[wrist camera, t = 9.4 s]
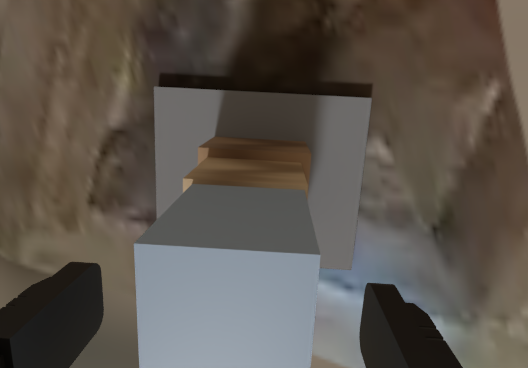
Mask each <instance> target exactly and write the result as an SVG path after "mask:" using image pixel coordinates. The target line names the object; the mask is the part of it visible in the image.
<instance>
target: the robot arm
mask: <svg viewBox="0 0 528 368" xmlns="http://www.w3.org/2000/svg"><path fill="white" fill-rule="evenodd" d="M103 308H104V307H103V292H102V277H101V268H100V266H99V265H98V264H97V263H84V262H70V263H68V264H67V265H66V266H65V267H63V268H62V269H61V270H59V271H58V272H57V273H56V274H54V275H53V276H52V277H49V278H47V279H44V280H42V281H40V282H38V283H36V284H33V285H31V286H30V287H29V288H27V289H26V290H25V291H23V292H22V293H21V294H20V295H18V298H14V299H13V300H12V301H10V302H9V303H8V304H6V307H2V308H1V309H0V368H69V367H70V366H71V365H72V363H73V362H74V361H75V360H76V358H77V357H78V356H79V354H80V353H81V352H82V351H83V349H84V348H85V347H86V345H87V344H88V343H89V341H90V340H91V339H92V338H93V336H94V335H95V334H96V333H97V331H98V329H99V327H100V325H101V322H102V318H103V310H104V309H103ZM360 348H361V353H362V356H363V360H364V363H365V366H366V368H463V367H462V366H461V364H460V363H459V361H458V360H457V358H456V357H455V355H454V354H453V352H452V351H451V349H450V347H449V346H448V344H447V343H446V341H443V337H442V335H441V334H440V332H439V331H438V330H436V326H435V325H434V323H433V322H432V320H431V319H430V317H429V315H428V314H427V313H425V312H424V311H423V310H421V309H420V308H419V307H418V306H416V305H415V304H414V303H405V302H404V300H403V298H402V297H401V295H400V293H399V291H398V290H397V288H396V286H395V285H393V284H379V283H367V285H366V288H365V294H364V302H363V309H362V317H361V325H360Z"/></svg>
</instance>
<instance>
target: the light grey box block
mask: <svg viewBox="0 0 528 368" xmlns="http://www.w3.org/2000/svg"><path fill="white" fill-rule="evenodd" d="M134 255H135V278H136V301H137V322H138V346H139V368H310V366H311V355H312V344H313V333H314V322H315V311H316V300H317V289H318V278H319V267H320V256H321V255H320V251H319V246H318V242H317V238H316V234H315V230H314V226H313V222H312V218H311V214H310V210H309V206H308V202H307V198H306V194H305V190H296V189H278V188H260V187H242V186H224V185H206V184H192V185H191V186H190V187H189V188H188V189H187V190H186V191H185V192H184V193H183V194H182V195H181V196H180V197H179V198H178V199H177V200H176V201H175V202H174V203H173V204H172V205H171V206H170V207H169V208H168V209H167V210H166V211H165V212H164V213H163V214H162V215H161V216H160V217H159V218H158V219H157V220H156V221H155V222H154V223H153V225H152V226H151V227H150V228H149V229H148V230H147V231H146V232H145V233H144V234H143V235H142V236H141V237H140V238H139V239H138V240H137V241H136V242H135V243H134Z"/></svg>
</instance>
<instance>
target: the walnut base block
mask: <svg viewBox="0 0 528 368" xmlns="http://www.w3.org/2000/svg"><path fill="white" fill-rule="evenodd" d="M207 157H213V158H230V159H248V160H265V161H282V162H299V163H301V164H302V167H303V171H304V174H305V178H306V181H307V184H308V188H309V176H310V164H311V152H310V150H309V148H308V146H307V144H306V142H304V141H286V140H269V139H251V138H233V137H215V136H214V137H213V138H211V139H210V140H208V141H207V142H205V143H204V144H202V145H201V146H199V147H198V165H199V164H200V163H201V162H202V161H203V160H205V159H206V158H207ZM307 200H308V191H307Z"/></svg>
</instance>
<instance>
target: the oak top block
mask: <svg viewBox="0 0 528 368" xmlns="http://www.w3.org/2000/svg"><path fill="white" fill-rule="evenodd" d="M192 184H206V185H224V186H242V187H260V188H278V189H296V190H305V194H306V198H307V191H308V184H307V181H306V178H305V174H304V171H303V167H302V164H301V163H299V162H282V161H265V160H248V159H230V158H213V157H207V158H206V159H205V160H203V161H202V162H201V163H200V164H199V165H198V166H197V167H195V168H194V169H193V170H192V171H191V172H190V173H189V174H187V175H186V176H185V177H184V178H183V193H184V192H185V191H186V190H187V189H188V188H189V187H190V186H191V185H192Z"/></svg>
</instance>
